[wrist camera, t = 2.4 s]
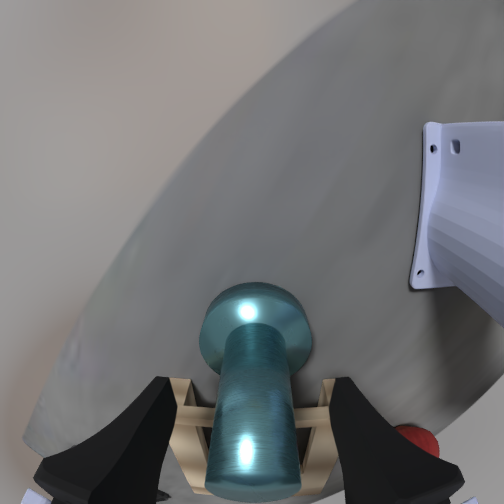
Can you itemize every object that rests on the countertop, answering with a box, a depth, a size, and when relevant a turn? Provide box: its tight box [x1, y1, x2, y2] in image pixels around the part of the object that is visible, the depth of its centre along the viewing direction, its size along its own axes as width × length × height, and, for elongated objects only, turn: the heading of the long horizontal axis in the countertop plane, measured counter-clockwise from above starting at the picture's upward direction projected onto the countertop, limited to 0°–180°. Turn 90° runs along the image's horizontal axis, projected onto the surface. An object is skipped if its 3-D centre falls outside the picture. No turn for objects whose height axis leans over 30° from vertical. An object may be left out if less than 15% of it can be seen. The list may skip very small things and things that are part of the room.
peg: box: [199, 282, 312, 503], centre depth 12 cm, size 6×6×10 cm
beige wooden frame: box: [169, 378, 339, 496], centre depth 18 cm, size 14×12×4 cm
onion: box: [395, 426, 439, 458], centre depth 16 cm, size 6×6×8 cm
